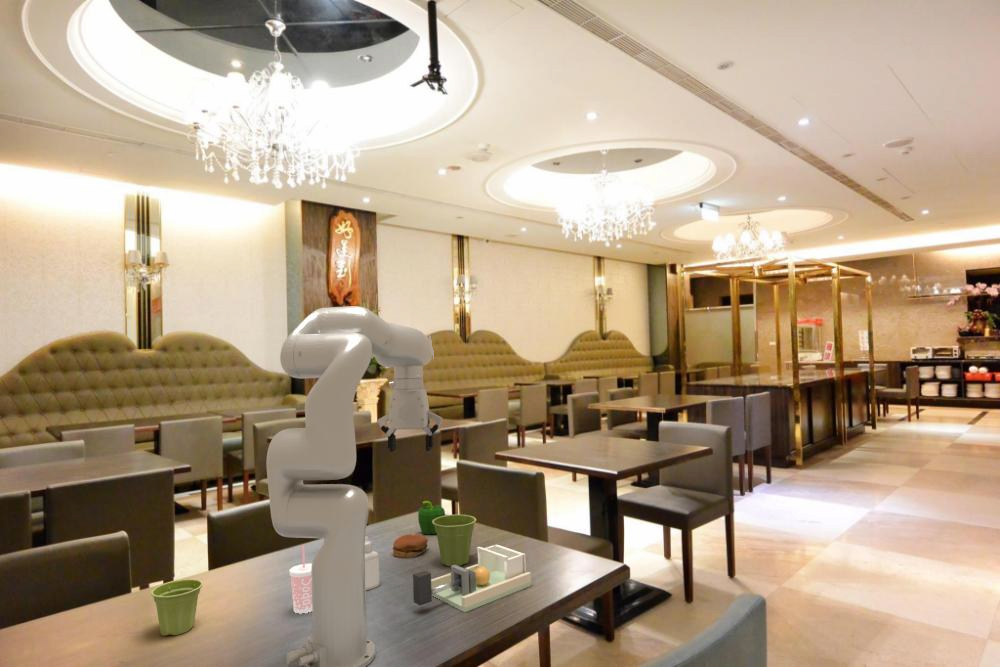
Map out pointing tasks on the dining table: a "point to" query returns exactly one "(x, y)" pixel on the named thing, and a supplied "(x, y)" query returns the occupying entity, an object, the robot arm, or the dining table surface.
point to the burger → (409, 545)
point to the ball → (482, 576)
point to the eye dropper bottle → (371, 566)
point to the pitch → (503, 579)
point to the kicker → (425, 592)
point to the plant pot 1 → (177, 605)
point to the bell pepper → (429, 517)
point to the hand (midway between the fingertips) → (410, 450)
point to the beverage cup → (301, 586)
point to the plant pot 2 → (454, 538)
